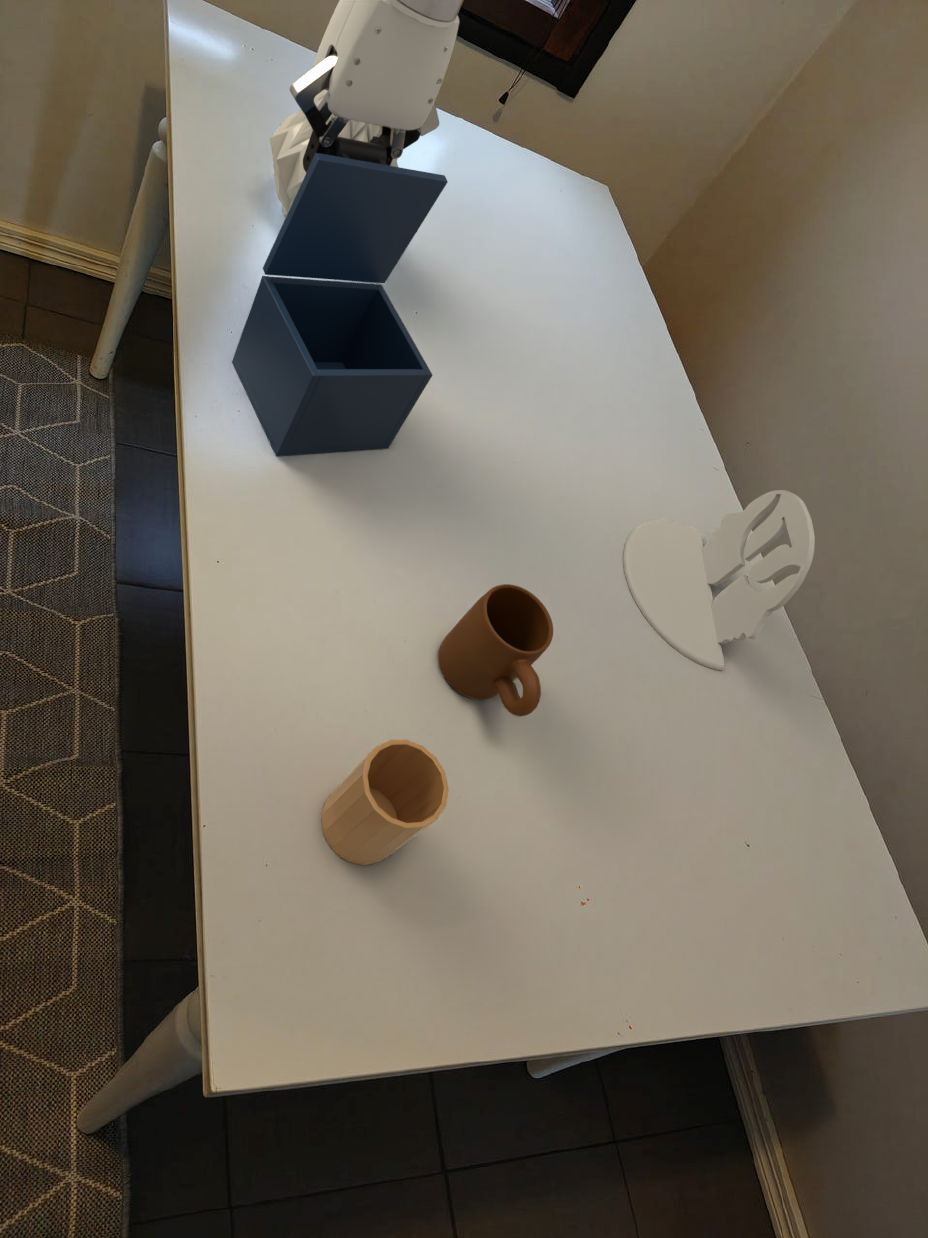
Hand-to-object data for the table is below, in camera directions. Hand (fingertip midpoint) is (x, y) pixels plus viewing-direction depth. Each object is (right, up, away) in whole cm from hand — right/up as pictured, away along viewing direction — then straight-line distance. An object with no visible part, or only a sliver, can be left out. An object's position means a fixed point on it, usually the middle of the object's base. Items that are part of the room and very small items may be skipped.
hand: (340, 179), depth 80 cm
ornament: (+37, -37, +25) cm, 57 cm away
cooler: (-5, -18, +11) cm, 22 cm away
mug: (+13, -48, +2) cm, 50 cm away
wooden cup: (+3, -58, -11) cm, 59 cm away
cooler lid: (+2, -5, -1) cm, 5 cm away
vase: (-7, +8, +28) cm, 30 cm away
